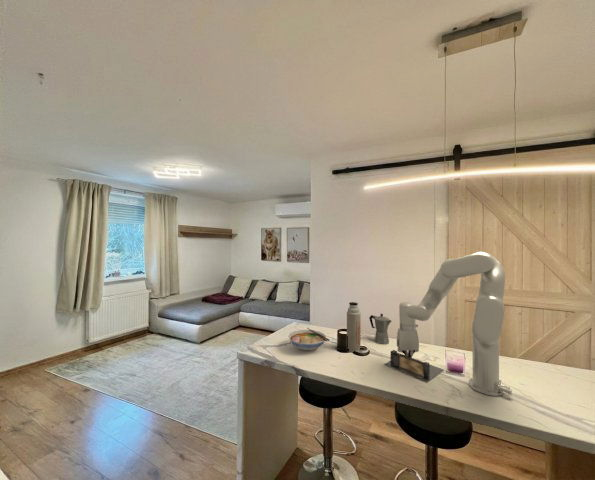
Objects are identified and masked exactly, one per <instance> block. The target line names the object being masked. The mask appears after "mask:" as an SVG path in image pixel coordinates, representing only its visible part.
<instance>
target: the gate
mask: <svg viewBox="0 0 595 480" xmlns="http://www.w3.org/2000/svg"><path fill="white" fill-rule="evenodd" d="M396 355H397V356H399V366H401V367H403V368H406V369H408V370H411V371H413V372H416V373H418V374H421V375H424V361H422V360H419V359H417V358H414V357H412V358H411V357H408V356H405V354H403V353H401V352H398V351H397V352H396Z"/></svg>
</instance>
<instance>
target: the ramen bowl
mask: <svg viewBox="0 0 595 480" xmlns="http://www.w3.org/2000/svg"><path fill="white" fill-rule="evenodd" d="M288 339H289V341H290V342H291V344H292V345H293V346H294V347H295V348H297V349H299V350H302V351H305V350H306V351H307V352H308V351H314V350H316V349H318V348H320V347H321V346H322V345H323V344H324V343H325V342H327V341H328V342H330V338H327V336H326V334H325V333H324V332H322V331H318V330H314V329H310V328H308V327H306V329H298V330H295V331H293V332H291V333H289V335H288ZM306 351H305V352H306Z"/></svg>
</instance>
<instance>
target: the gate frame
mask: <svg viewBox="0 0 595 480" xmlns="http://www.w3.org/2000/svg"><path fill="white" fill-rule="evenodd" d="M396 352H397V353H398V351H397V350H395V349H393V350H391V351H390V360H389V361H387V362H385V363H384V364H383V365H384V366H386V367H389V368H391V369H393V370H395V371H398V372H400V373H403V374H405V375H408V376H410V377H412V378H415V379H417V380H419V381H422V382H424V383H429V382H431V381H432V380H433V379H434V378H436V377H437V376H439V375H440V374H442V373H443V372H444V371H445V369H443V368H441V367H438V366H435V365H432V364H430V362H428V361H425V362H424V361H423V362H424V375H421V374H418V373H416V372H413V371H411V370H408V369H406V368H403V367H401V366H399V356H397V355H396Z"/></svg>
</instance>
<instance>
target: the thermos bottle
mask: <svg viewBox="0 0 595 480" xmlns="http://www.w3.org/2000/svg"><path fill="white" fill-rule="evenodd" d="M358 304H359V303H358V302H356V301H355V302H353V301H351V302H349V303H348V307H347V311H346V337H347V336H348V349H349V351H348V352H349V353H353V352H354V351H356V350H360V348H361V347H362V345H361V341H362V340H361V339H362V338H361V334H362V333H361V329H362V328H361V324H362V323H361V322H362V321H361V319H362V317H361V315H362V313H361V312H360V308H359V305H358ZM360 351H361V350H360Z"/></svg>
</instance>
